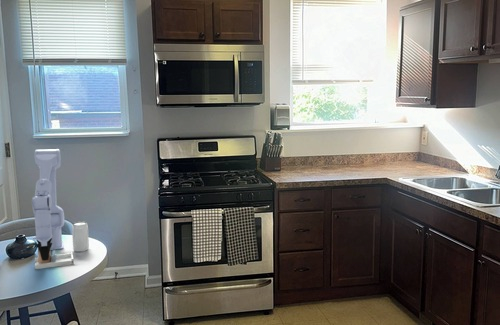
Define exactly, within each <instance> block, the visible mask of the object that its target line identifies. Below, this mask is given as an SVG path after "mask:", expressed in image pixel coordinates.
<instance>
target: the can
mask: <svg viewBox="0 0 500 325" xmlns="http://www.w3.org/2000/svg"><path fill="white" fill-rule="evenodd" d="M88 226H89V225H88V223H87V221H75V222H73V223H72V227H71V230H72V231H71V232H72V234H71V235H72V249H73V251H74V252H76V253H81V252H82V251H83V252H86V251H88V250H90V249H89V248H90V243H89V242H90V240H89V227H88ZM83 252H82V253H83Z"/></svg>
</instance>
